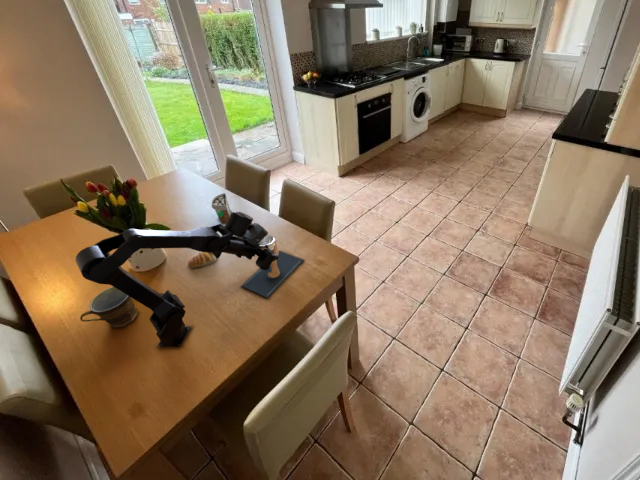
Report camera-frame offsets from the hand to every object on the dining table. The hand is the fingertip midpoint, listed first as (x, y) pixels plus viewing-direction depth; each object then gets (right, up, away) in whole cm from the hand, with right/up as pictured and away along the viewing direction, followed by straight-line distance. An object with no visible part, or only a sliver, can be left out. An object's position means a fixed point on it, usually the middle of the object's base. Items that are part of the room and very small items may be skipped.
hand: (272, 253), depth 114 cm
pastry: (-30, -5, +9) cm, 31 cm away
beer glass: (-1, -8, +3) cm, 9 cm away
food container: (-34, +10, +33) cm, 48 cm away
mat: (-1, -8, +4) cm, 9 cm away
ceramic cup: (-44, -19, -14) cm, 50 cm away
